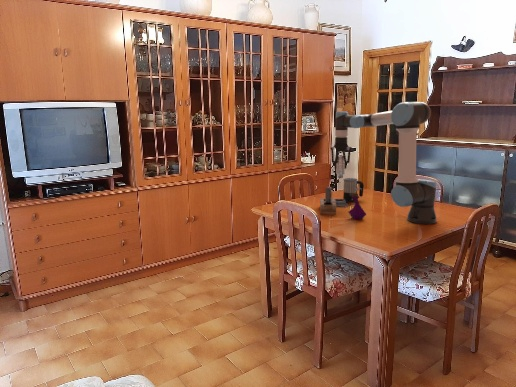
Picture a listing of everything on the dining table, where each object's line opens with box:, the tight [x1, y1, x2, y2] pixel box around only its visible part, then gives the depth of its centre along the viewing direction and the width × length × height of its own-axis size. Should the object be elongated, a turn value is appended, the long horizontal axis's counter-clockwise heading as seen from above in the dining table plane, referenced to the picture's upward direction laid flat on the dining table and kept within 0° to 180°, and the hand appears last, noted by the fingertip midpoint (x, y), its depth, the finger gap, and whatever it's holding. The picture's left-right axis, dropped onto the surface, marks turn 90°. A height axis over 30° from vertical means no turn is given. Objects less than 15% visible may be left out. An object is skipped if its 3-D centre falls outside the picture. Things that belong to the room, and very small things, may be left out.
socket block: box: [334, 198, 349, 208], centre depth 260 cm, size 10×10×3 cm
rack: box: [319, 197, 337, 216], centre depth 246 cm, size 18×9×6 cm, turn 172°
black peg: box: [324, 186, 333, 205], centre depth 241 cm, size 4×4×14 cm
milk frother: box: [342, 177, 365, 203], centre depth 273 cm, size 14×16×15 cm
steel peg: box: [336, 155, 344, 179], centre depth 255 cm, size 4×4×14 cm
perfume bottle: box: [348, 187, 367, 221], centre depth 227 cm, size 8×8×18 cm
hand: (340, 173), depth 256 cm, fingers closed on steel peg, 4 cm apart
